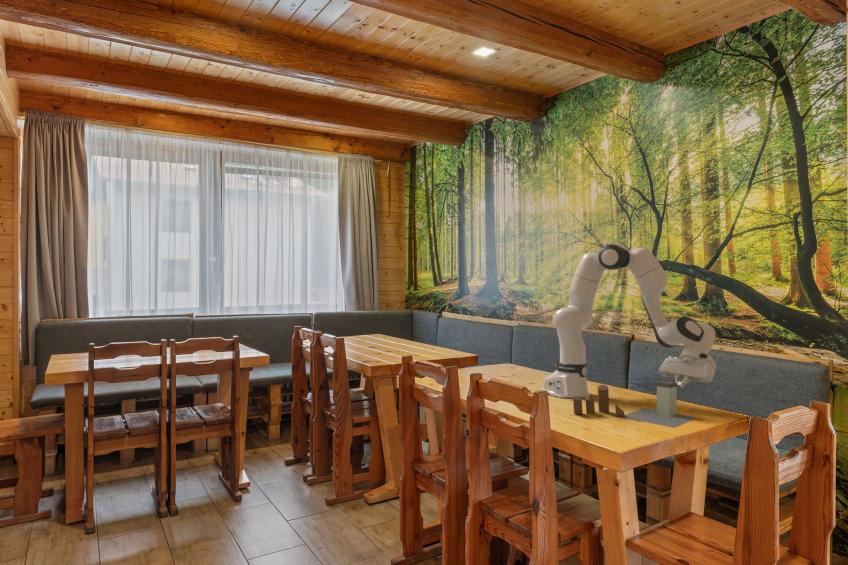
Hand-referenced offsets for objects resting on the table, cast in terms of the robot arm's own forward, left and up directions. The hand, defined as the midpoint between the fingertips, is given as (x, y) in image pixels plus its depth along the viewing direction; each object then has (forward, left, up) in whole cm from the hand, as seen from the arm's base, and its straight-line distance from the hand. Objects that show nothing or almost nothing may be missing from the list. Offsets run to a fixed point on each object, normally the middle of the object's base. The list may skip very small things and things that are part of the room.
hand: (678, 386), depth 212 cm
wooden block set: (-19, -26, -10) cm, 34 cm away
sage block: (-1, -8, -9) cm, 12 cm away
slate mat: (-1, -15, -10) cm, 18 cm away
